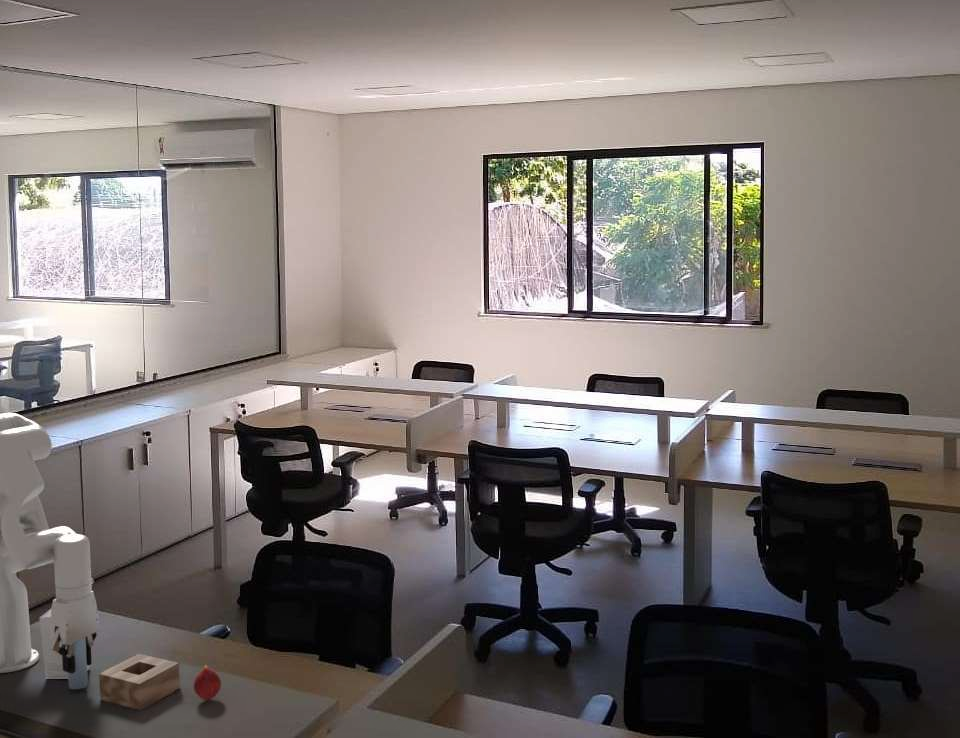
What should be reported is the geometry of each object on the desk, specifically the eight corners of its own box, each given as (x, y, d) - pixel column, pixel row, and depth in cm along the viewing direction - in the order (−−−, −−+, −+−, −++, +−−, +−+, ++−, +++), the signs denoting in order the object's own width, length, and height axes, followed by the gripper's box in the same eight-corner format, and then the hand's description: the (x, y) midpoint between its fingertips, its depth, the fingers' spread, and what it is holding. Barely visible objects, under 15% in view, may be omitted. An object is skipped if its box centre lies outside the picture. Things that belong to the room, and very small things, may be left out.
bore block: (100, 699, 230) (98, 673, 230) (140, 678, 241) (139, 653, 240) (140, 710, 225) (139, 683, 224) (180, 688, 236) (178, 662, 235)
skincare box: (91, 669, 246) (87, 606, 244) (77, 681, 240) (73, 617, 238) (57, 668, 247) (52, 605, 245) (43, 680, 241) (38, 616, 238)
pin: (64, 686, 234) (61, 627, 232) (78, 679, 238) (76, 621, 235) (77, 690, 232) (74, 631, 230) (91, 683, 236) (88, 624, 234)
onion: (227, 697, 231) (225, 663, 230) (210, 708, 226) (208, 673, 225) (206, 692, 233) (204, 658, 232) (189, 703, 228) (187, 668, 227)
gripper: (90, 575, 240) (94, 650, 243) (30, 599, 226) (34, 678, 229) (114, 581, 237) (117, 657, 240) (55, 605, 222) (59, 686, 225)
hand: (77, 667), depth 234 cm, fingers closed on pin, 4 cm apart
